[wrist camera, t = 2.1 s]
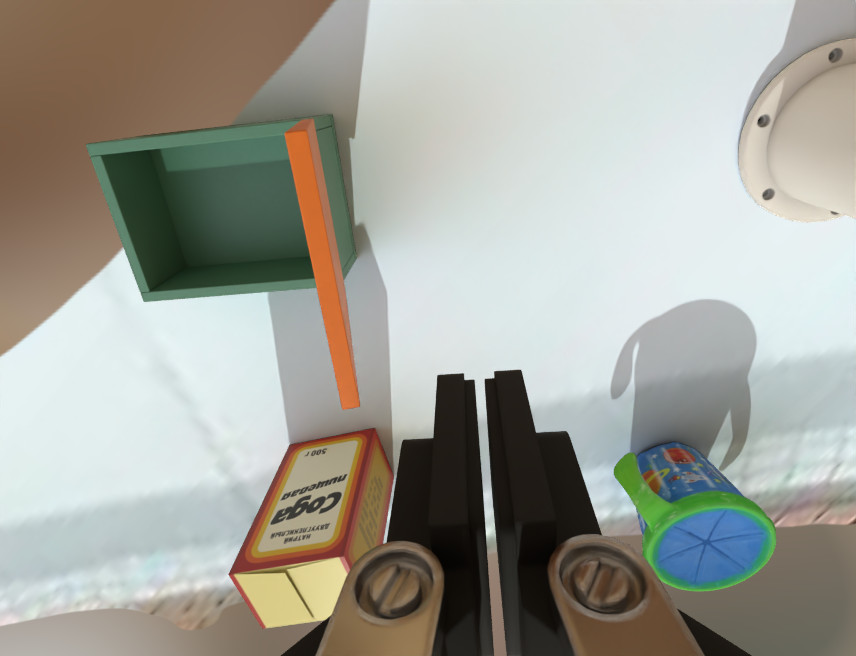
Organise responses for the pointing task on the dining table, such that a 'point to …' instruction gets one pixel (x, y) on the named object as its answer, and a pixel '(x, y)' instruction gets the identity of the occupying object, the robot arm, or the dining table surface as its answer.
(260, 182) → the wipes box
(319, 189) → the lid
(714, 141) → the dining table surface
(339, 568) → the baking soda box
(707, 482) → the snack cup
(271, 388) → the dining table surface
